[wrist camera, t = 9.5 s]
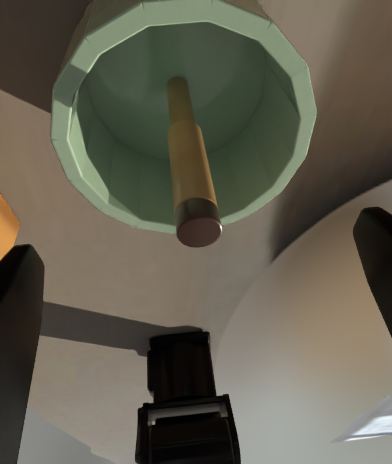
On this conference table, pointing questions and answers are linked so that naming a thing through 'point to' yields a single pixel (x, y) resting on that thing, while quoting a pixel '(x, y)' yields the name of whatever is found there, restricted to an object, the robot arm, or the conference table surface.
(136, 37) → the cup
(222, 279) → the conference table surface
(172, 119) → the tan brown rod
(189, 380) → the robot arm
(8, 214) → the stand
